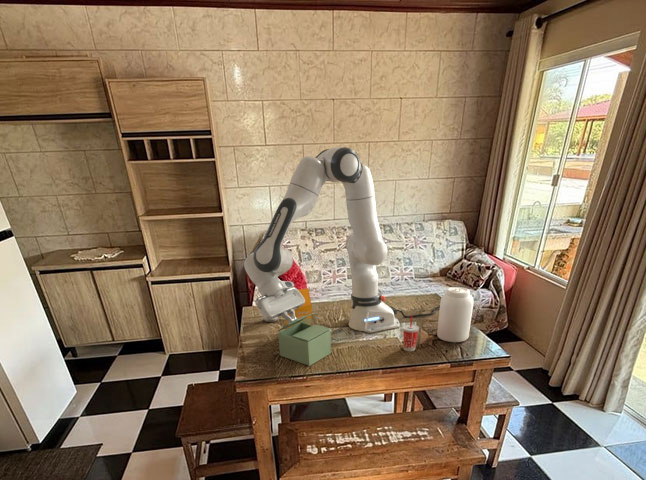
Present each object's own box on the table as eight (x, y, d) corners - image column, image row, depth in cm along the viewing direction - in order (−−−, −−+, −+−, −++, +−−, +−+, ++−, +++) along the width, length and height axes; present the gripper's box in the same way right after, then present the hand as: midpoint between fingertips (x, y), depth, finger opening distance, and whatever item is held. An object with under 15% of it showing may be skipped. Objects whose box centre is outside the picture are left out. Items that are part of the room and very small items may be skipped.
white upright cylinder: (444, 344, 160) (450, 295, 151) (431, 332, 171) (436, 285, 162) (473, 341, 162) (481, 292, 152) (459, 329, 173) (466, 283, 163)
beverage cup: (415, 345, 161) (417, 311, 154) (418, 351, 156) (421, 317, 149) (399, 345, 161) (401, 312, 154) (403, 352, 156) (405, 318, 149)
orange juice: (285, 332, 175) (284, 287, 164) (305, 328, 178) (305, 285, 167) (292, 340, 169) (291, 294, 158) (311, 336, 172) (312, 291, 161)
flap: (278, 331, 152) (277, 330, 152) (300, 321, 161) (300, 320, 161) (288, 324, 147) (288, 323, 147) (311, 314, 156) (311, 313, 156)
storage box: (280, 355, 157) (277, 330, 152) (302, 343, 166) (300, 320, 161) (309, 365, 149) (307, 340, 144) (331, 353, 158) (330, 328, 153)
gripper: (256, 294, 145) (278, 326, 144) (295, 280, 159) (315, 309, 158) (249, 304, 150) (270, 334, 149) (287, 289, 164) (307, 317, 163)
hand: (293, 321), depth 154 cm, fingers closed
